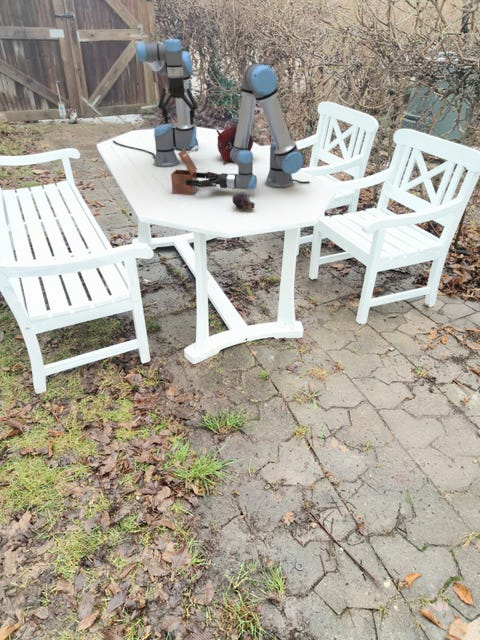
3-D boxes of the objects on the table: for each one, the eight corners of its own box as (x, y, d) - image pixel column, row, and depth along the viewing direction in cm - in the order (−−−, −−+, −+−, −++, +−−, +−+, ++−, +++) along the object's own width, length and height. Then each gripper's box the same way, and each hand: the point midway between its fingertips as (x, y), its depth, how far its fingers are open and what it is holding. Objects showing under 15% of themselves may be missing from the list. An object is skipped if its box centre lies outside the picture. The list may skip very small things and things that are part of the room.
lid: (177, 153, 233) (190, 145, 230) (183, 149, 241) (195, 141, 237) (190, 174, 238) (203, 167, 235) (195, 169, 245) (208, 162, 242)
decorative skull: (214, 132, 305) (214, 129, 282) (248, 124, 304) (250, 121, 281) (221, 164, 312) (221, 164, 288) (254, 157, 311) (257, 156, 288)
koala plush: (198, 150, 320) (196, 121, 309) (173, 151, 319) (170, 122, 308) (198, 145, 335) (196, 116, 324) (174, 145, 334) (171, 117, 322)
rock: (245, 206, 232) (228, 209, 228) (244, 189, 228) (227, 192, 224) (257, 209, 223) (239, 213, 218) (256, 192, 219) (238, 195, 215)
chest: (172, 193, 246) (170, 174, 240) (177, 188, 254) (176, 169, 248) (193, 194, 244) (191, 175, 238) (197, 189, 251) (196, 170, 246)
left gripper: (148, 77, 216) (153, 124, 228) (198, 78, 212) (200, 126, 224) (154, 75, 222) (158, 121, 234) (202, 76, 218) (204, 123, 230)
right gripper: (222, 195, 233) (183, 192, 236) (233, 180, 253) (197, 178, 256) (221, 181, 228) (182, 178, 232) (232, 167, 248) (196, 165, 252)
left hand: (179, 123), depth 229 cm, fingers open, 13 cm apart
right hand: (189, 178), depth 244 cm, fingers open, 13 cm apart
